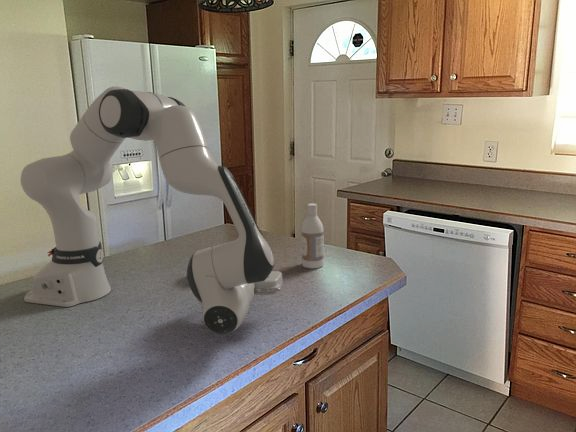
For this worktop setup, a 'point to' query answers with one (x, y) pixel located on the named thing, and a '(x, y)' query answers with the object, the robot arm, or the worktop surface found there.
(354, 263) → the worktop surface
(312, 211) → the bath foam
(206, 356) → the worktop surface
